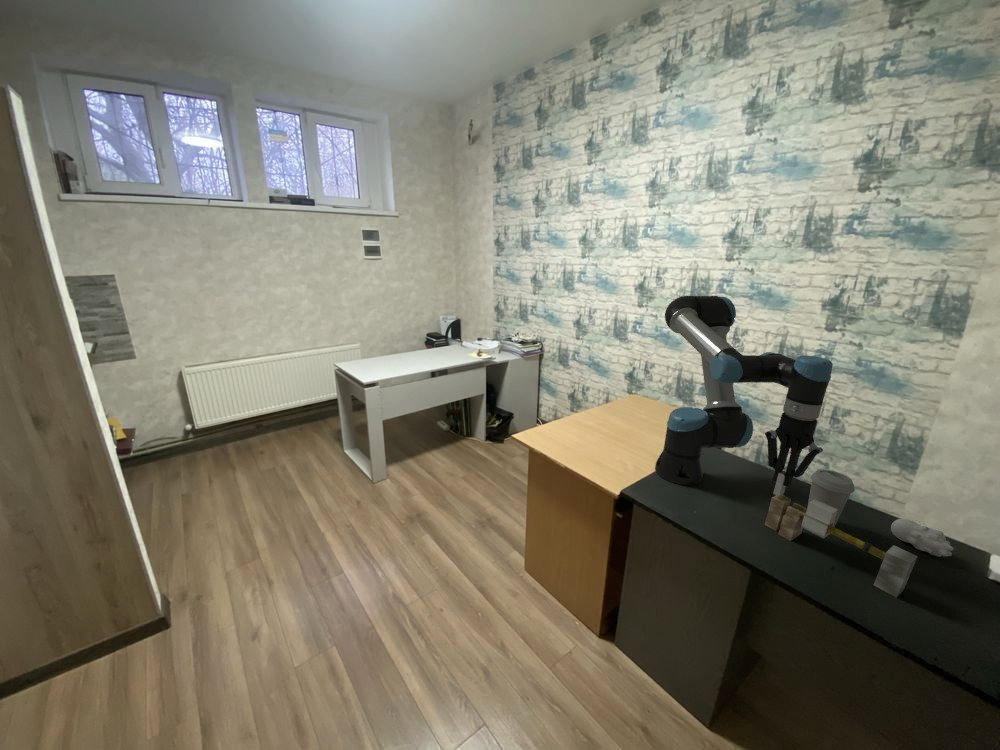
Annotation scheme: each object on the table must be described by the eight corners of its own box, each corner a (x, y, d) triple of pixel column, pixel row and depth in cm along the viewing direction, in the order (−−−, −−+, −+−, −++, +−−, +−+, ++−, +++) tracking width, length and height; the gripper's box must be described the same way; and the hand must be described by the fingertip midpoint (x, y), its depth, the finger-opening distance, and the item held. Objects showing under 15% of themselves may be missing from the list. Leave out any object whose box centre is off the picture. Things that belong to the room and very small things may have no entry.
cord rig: (762, 525, 110) (770, 496, 107) (773, 519, 113) (781, 490, 110) (895, 599, 87) (909, 565, 84) (904, 588, 90) (918, 555, 87)
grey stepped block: (800, 526, 102) (808, 502, 100) (808, 521, 104) (815, 498, 102) (823, 538, 98) (831, 513, 96) (830, 533, 100) (838, 508, 98)
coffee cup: (849, 535, 106) (865, 488, 102) (810, 530, 108) (824, 484, 104) (828, 514, 115) (842, 469, 111) (792, 509, 117) (805, 465, 113)
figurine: (902, 520, 109) (964, 547, 98) (889, 539, 108) (949, 568, 98) (896, 509, 106) (959, 535, 95) (882, 528, 106) (944, 557, 95)
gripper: (765, 409, 104) (747, 485, 111) (822, 427, 93) (798, 510, 100) (779, 404, 108) (761, 478, 115) (836, 421, 97) (812, 502, 104)
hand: (778, 493), depth 108 cm, fingers closed
